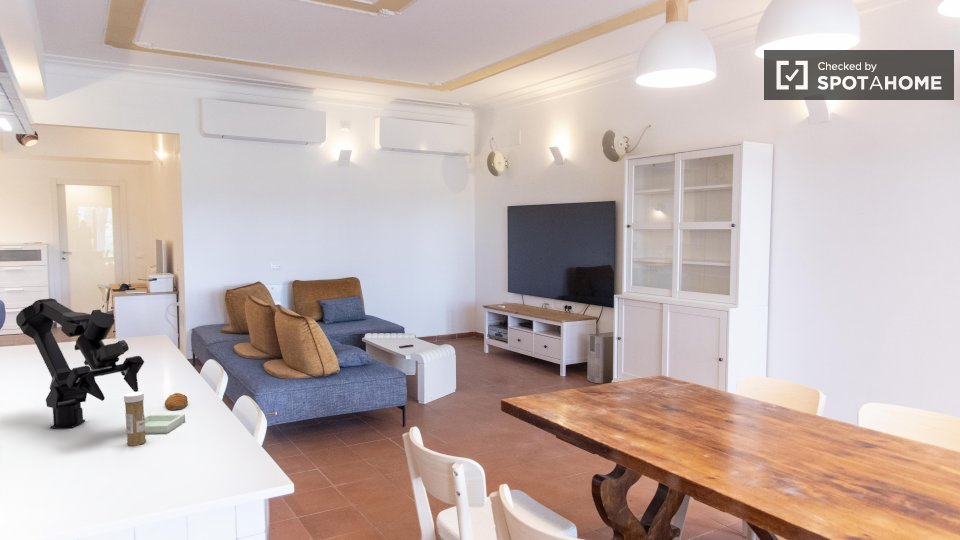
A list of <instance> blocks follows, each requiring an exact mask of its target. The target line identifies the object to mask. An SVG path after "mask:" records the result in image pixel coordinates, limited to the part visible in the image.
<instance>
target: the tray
mask: <svg viewBox="0 0 960 540" xmlns="http://www.w3.org/2000/svg"><path fill="white" fill-rule="evenodd" d="M144 419H145V435H168V434H169V433H171V432H172V431H174V430H175V429H176V428H178V427H179V426H181V425H183V424H184V423H185V422H186V414H181V413H180V414H179V413H178V414H147V415H146V414H145V415H144ZM182 423H183V424H182Z"/></svg>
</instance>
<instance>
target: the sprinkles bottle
mask: <svg viewBox="0 0 960 540" xmlns="http://www.w3.org/2000/svg"><path fill="white" fill-rule="evenodd" d="M123 399H124V400H123V401H124V407H125V424H126V425H125V426H126V437H127V438H126V439H127V442H126V444H127V445H128V446H132V447H133V446H139V445H143V444H144V443H146V442H147V439H146V434H145V419H144V417H145V412H144V410H145V409H144V399H145V397H144V392H142V391H138V392H134V391H133V392H128V393H125V394H124V395H123Z"/></svg>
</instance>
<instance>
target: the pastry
mask: <svg viewBox="0 0 960 540" xmlns="http://www.w3.org/2000/svg"><path fill="white" fill-rule="evenodd" d="M188 403H189V400H188V396H186V394H183V393H181V392H175V393H173V394H169V396H167V398H166V400H165V401H164V407H165V408H166V409H167V410H168V411H174V410H183V409H185V406H186V407H187V405H188ZM182 408H183V409H182Z"/></svg>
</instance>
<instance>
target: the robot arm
mask: <svg viewBox="0 0 960 540" xmlns="http://www.w3.org/2000/svg"><path fill="white" fill-rule="evenodd" d="M15 321H16V324H17V327H19V329H20V330H21V331H22V333H23V334H24V335H25V336H27V337H29V338H31V339H32V340H33V341H34V343H35V345H36V347H37V350H38V351H39V353H40V355H41V358H42V360H43V361H44V364H45V366H46V368H47V370H48V372H49V375H50V377H51V381H50V383H49V384H50V385H49V390H50V391H49V392H48V395H47V396H46V398H45V403H46V407H47V408H51V409H52V415H53V417H52V418H53V424H52V425H50V426H49V428H50V429H69V428H70V429H71V428H74V427H76V426H79V425H81V424H83V423H85V421H86V419H84V415H83V413H84V412H83V407H82V406H81V405H82V404H81V403H85V402H86V401H87V396H88V394H89V395H90V396H93V397H94V398H96V399H98V400H100V401H102V402H104V400H105V398H106V397H105V395H104V393H103V391H102V390H101V388H100V386H99V385H98V382H97V381H96V378H95V377H102V376H108V375H113V374H116V373H120V374H121V375H122V376H123V378H122V379H123V380H124V381H125V382H126V383H127V385H128V386H129V388H130V389H131V390H132V391H133V392H139V385H138V373H139V372H140V370H141V369H142V367H143V365H144V363H145V360H144V359H143V358H142V356H140V355H135V356H129V357H126V358H125V359H124V361H123V363H120V364H117V363H118V362H119V360H120V357H121V356H122V355H124V354H125V353H126V352H128V351H129V345H128V343H127V342H126V340H125V339H122V340H118V341H117V342H115V343H110V344H109V343H108V344H105V343H104V342H103V340H105V339H106V338H107V337H108V335H109V334H110V332H111V330H112V328H113V326H114V324H115V318H114V317H113V316H112V315H110V314H109V313H107V312H102V310H101V309H100V308H98V309H93V310H92V311H91V314H90V313H86V312H81V311H80V312H78V311H77V312H76V311H74V310H72V309H70V308H68V307H67V306H65V305H63V304H62V303H59V302H58V301H57V299H56V298H52V297H51V298H42V299H37V300H35V301H34V302H33V303H32V304H30V305H28V306H26V307H24V308H22V309H21V310H20V311H19V312H18V314H17V315H16V317H15ZM54 322H55V323H56V324H58V325H60V326H61V332H62V333H63V334H64V335H65V336H67V337H68V338H73V337H77V339H76V341H75V345H74V351H80V352H81V354H82V356H83V358H84V359H85V360H84V361H83V364H84V365H82V366H77V367H72V369H71V368H70V366H69V363H68V362H67V360H66V358H65V356H64V354H63V351H62V349H61V348H60V346H59V343H58V342H57V340H56V338H55V336H54V333H53V332H52V327H53V324H54Z"/></svg>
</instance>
